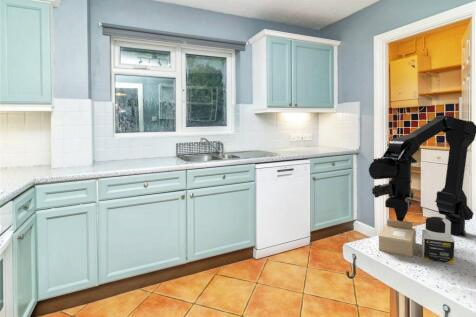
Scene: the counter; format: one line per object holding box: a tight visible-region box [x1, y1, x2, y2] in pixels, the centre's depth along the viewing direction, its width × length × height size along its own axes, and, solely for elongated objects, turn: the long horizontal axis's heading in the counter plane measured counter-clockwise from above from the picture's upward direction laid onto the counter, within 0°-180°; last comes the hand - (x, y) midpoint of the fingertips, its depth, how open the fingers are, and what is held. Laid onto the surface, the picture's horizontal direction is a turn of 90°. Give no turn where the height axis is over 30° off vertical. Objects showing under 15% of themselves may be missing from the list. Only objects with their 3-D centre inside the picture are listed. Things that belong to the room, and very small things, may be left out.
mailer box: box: [378, 228, 417, 257], centre depth 94 cm, size 12×9×5 cm
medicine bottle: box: [421, 216, 456, 265], centre depth 86 cm, size 7×7×12 cm
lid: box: [378, 218, 416, 243], centre depth 93 cm, size 12×9×3 cm
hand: (399, 223), depth 98 cm, fingers closed
